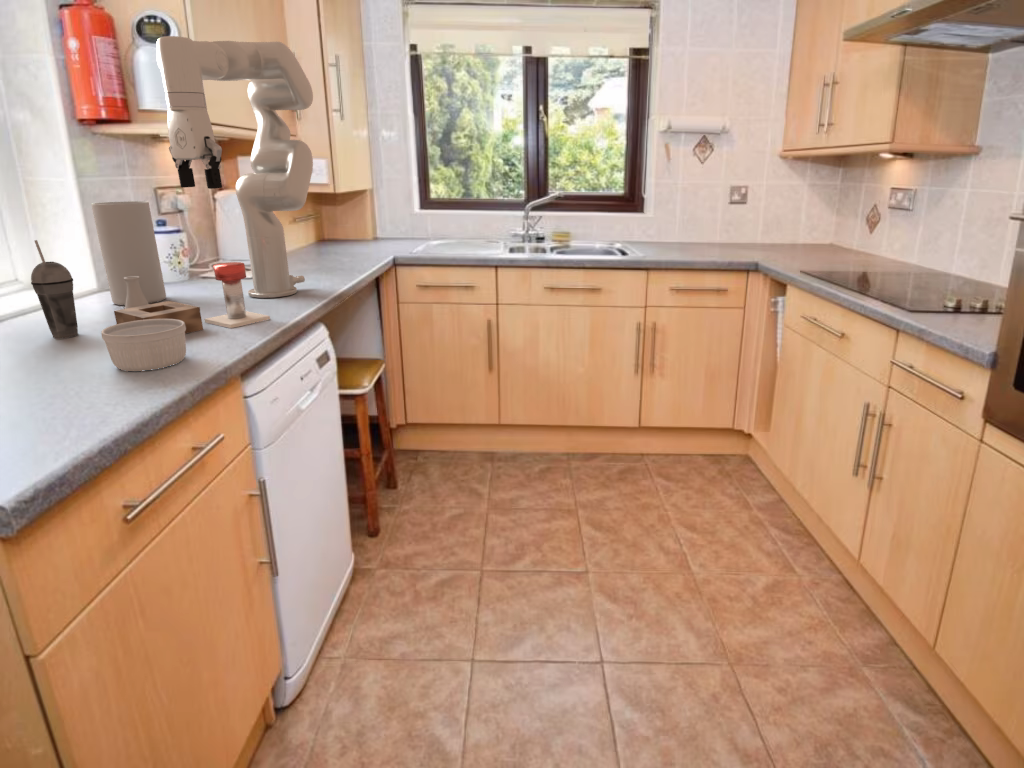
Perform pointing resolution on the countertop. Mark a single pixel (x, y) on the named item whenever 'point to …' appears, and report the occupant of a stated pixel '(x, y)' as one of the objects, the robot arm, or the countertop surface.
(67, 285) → the beverage cup
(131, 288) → the flask
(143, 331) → the ramekin
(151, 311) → the eye block
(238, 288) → the spice jar
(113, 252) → the cylinder vase
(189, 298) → the countertop surface
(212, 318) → the pad
